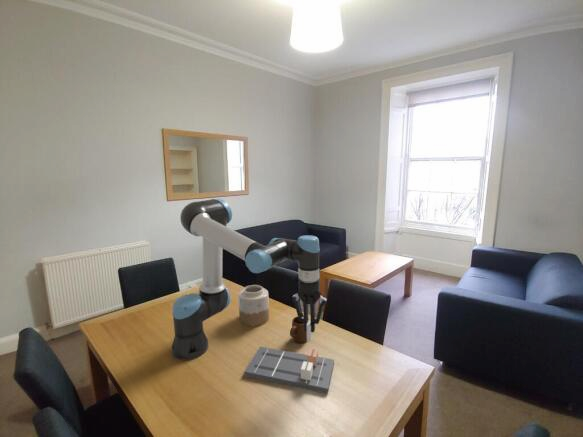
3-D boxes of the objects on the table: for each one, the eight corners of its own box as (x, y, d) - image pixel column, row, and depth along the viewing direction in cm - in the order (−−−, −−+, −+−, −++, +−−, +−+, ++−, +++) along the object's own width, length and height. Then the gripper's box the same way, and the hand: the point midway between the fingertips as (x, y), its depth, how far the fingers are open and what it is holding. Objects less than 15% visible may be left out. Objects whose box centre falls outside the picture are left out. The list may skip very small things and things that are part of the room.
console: (244, 376, 112) (244, 371, 111) (260, 350, 127) (260, 346, 126) (327, 393, 103) (327, 388, 102) (334, 364, 118) (334, 359, 118)
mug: (298, 351, 126) (298, 331, 125) (283, 345, 130) (283, 326, 128) (311, 337, 136) (311, 318, 134) (297, 332, 140) (297, 314, 138)
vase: (274, 316, 155) (274, 286, 152) (256, 329, 142) (255, 298, 139) (252, 308, 163) (251, 280, 160) (233, 321, 151) (231, 290, 147)
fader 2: (307, 364, 114) (307, 355, 114) (309, 357, 118) (309, 348, 118) (316, 366, 113) (316, 356, 113) (318, 359, 118) (318, 349, 117)
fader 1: (300, 378, 107) (300, 368, 106) (303, 370, 111) (303, 360, 110) (310, 380, 106) (310, 370, 105) (312, 372, 110) (313, 362, 109)
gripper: (288, 281, 103) (289, 342, 107) (325, 284, 99) (325, 348, 103) (294, 273, 110) (295, 331, 114) (328, 276, 106) (328, 336, 110)
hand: (309, 339), depth 109 cm, fingers closed
